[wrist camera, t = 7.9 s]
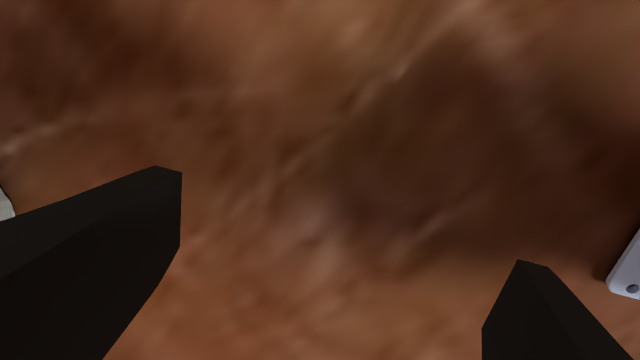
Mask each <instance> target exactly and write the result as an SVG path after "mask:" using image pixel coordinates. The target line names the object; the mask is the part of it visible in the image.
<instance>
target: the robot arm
mask: <svg viewBox="0 0 640 360" xmlns="http://www.w3.org/2000/svg"><path fill="white" fill-rule="evenodd" d="M181 191H182V172H178V171H174V170H171V169H167V168H163V167H159V166H152V167H149V168H146V169H143V170H140V171H137V172H135V173H132V174H129V175H127V176H124V177H121V178H119V179H116V180H114V181H111V182H109V183H106V184H103V185H101V186H98V187H96V188H93V189H90V190H88V191H85V192H83V193H80V194H77V195H75V196H72V197H69V198H67V199H64V200H61V201H58V202H56V203H53V204H50V205H47V206H44V207H41V208H38V209H35V210H32V211H29V212H26V213H23V214H20V215H17V216H15V217H12V218H9V219H6V220H2V221H0V360H102V359H103V358H104V357H105V355H106V354H107V353H108V351H109V350H110V349H111V347H112V346H113V345H114V343H115V342H116V341H117V340H118V338H119V337H120V336H121V334H122V333H123V332H124V330H125V329H126V328H127V326H128V325H129V324H130V322H131V321H132V320H133V318H134V317H135V316H136V314H137V313H138V312H139V310H140V309H141V308H142V306H143V305H144V304H145V302H146V301H147V300H148V298H149V297H150V296H151V294H152V293H153V292H154V290H155V289H156V287H157V286H158V285H159V283H160V281H161V279H162V278H163V276H164V274H165V273H166V271H167V269H168V267H169V266H170V264H171V262H172V260H173V258H174V256H175V254H176V253H177V251H178V249H179V247H180V221H181ZM632 284H635V285H634V286H633V287H628V286H629V285H632ZM606 285H607V287H608V289H609V290H610V291H611V292H613V293H615V294H619V295H623V296H627V297H631V298H635V299H639V300H640V229H639V230H638V232H637V233H636V235H635V236H634V238H633V239H632V241H631V242H630V244H629V245H628V247H627V248H626V250H625V251H624V253H623V254H622V256H621V257H620V259H619V260H618V262H617V263H616V265H615V266H614V268H613V269H612V271H611V272H610V274H609V275H608V277H607V279H606ZM482 360H633V359H632V357H631V356H630V355H629V354H628V353H627V352H626V351H625V350H624V349H623V348H622V347H621V346H620V345H619V343H618V342H617V341H616V340H615V339H614V338H613V337H612V336H611V335H610V334H609V333H608V331H607V330H606V329H605V328H604V327H603V326H602V325H601V324H600V323H599V321H598V320H597V319H596V318H595V317H594V316H593V315H592V314H591V313H590V311H589V310H588V309H587V308H586V307H585V306H584V305H583V304H582V302H581V301H580V300H579V299H578V298H577V297H576V296H575V295H574V294H573V292H572V291H571V290H570V289H569V288H568V287H567V286H566V285H565V284H564V283H563V282H562V281H561V279H560V278H559V277H558V276H557V275H556V274H555V273H554V272H553V271H552V270H550V269H549V268H548V267H546V266H542V265H538V264H534V263H530V262H527V261H523V260H519V259H518V260H517V261H516V263H515V265H514V267H513V269H512V271H511V273H510V275H509V277H508V279H507V281H506V283H505V285H504V286H503V288H502V290H501V292H500V294H499V296H498V298H497V300H496V302H495V304H494V306H493V308H492V310H491V311H490V313H489V315H488V317H487V319H486V321H485V323H484V325H483V327H482Z"/></svg>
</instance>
